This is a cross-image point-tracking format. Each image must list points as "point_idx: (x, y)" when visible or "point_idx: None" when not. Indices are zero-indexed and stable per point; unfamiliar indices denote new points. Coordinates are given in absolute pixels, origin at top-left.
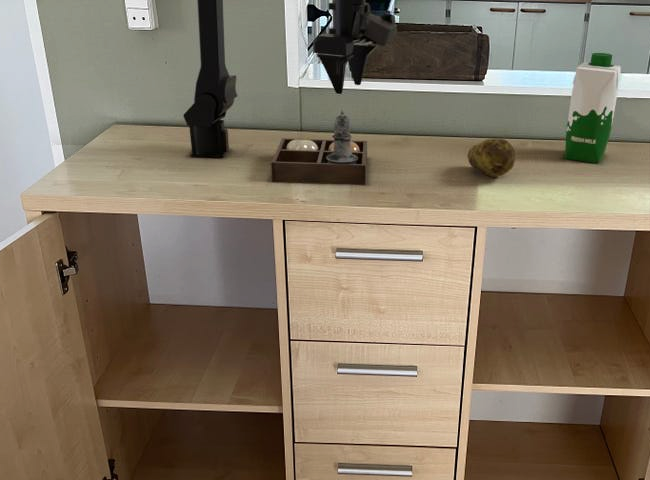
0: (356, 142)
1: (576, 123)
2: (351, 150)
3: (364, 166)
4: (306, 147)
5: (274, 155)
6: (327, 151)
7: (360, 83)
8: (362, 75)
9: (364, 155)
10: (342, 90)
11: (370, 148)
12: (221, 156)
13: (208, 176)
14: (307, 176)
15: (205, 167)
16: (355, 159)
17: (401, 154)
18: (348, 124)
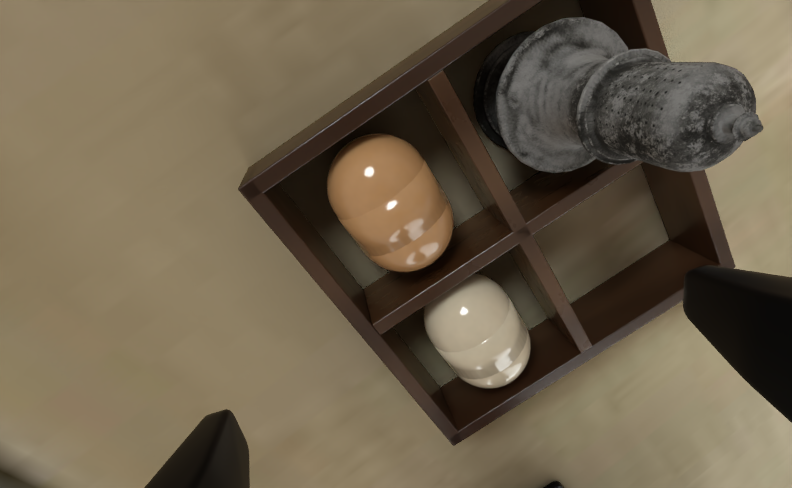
0: (288, 219)
1: None
2: (414, 156)
3: None
4: (509, 310)
5: (657, 316)
6: (514, 212)
7: (215, 417)
8: (170, 481)
9: (476, 33)
10: (717, 272)
11: (99, 254)
12: (559, 483)
13: (704, 389)
14: None
15: (642, 446)
16: (573, 20)
17: (46, 76)
18: (700, 62)
